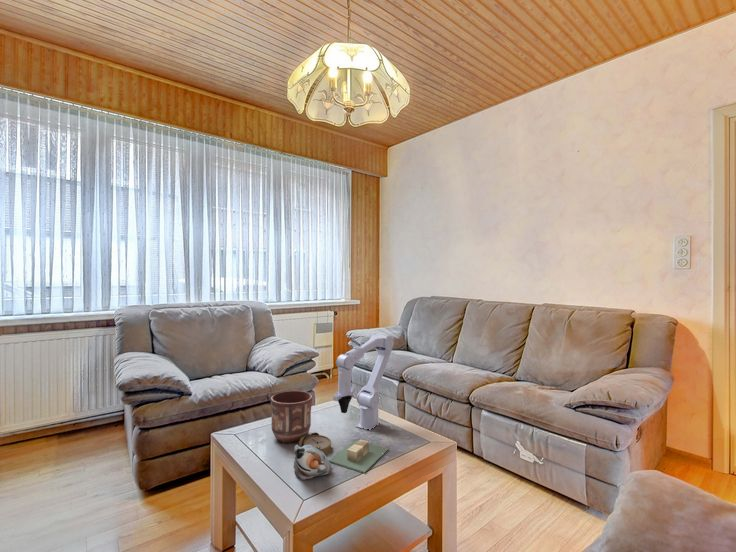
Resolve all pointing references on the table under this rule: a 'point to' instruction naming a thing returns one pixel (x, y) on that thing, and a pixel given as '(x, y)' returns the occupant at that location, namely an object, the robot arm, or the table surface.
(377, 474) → the table surface
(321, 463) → the lucky cat figurine
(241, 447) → the table surface
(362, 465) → the rubber mat
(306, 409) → the pottery
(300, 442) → the alarm clock
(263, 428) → the table surface
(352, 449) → the birch block
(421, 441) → the table surface
